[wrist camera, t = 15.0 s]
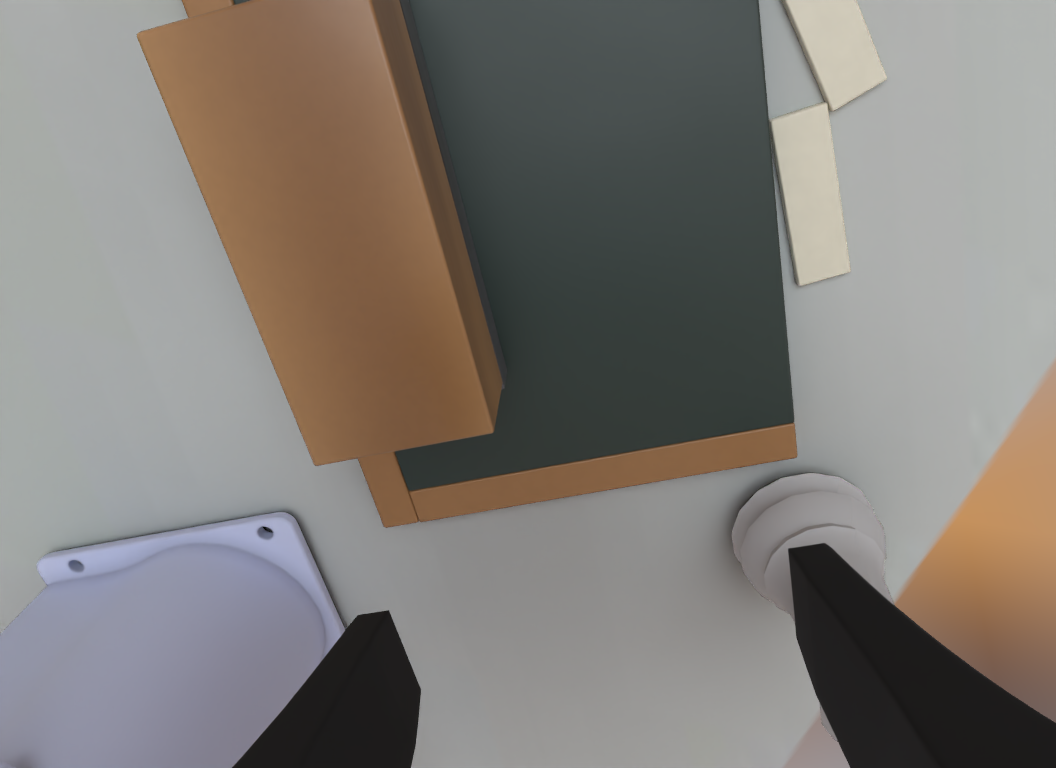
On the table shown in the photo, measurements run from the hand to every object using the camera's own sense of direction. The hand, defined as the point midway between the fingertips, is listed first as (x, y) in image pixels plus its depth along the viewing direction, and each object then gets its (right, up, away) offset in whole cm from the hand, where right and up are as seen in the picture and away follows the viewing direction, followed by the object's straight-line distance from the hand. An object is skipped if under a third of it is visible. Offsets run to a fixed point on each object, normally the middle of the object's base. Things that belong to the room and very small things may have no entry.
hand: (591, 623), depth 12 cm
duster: (-5, +9, +6) cm, 11 cm away
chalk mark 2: (+6, +9, +6) cm, 13 cm away
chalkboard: (-2, +10, +6) cm, 11 cm away
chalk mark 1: (+6, +13, +4) cm, 15 cm away
